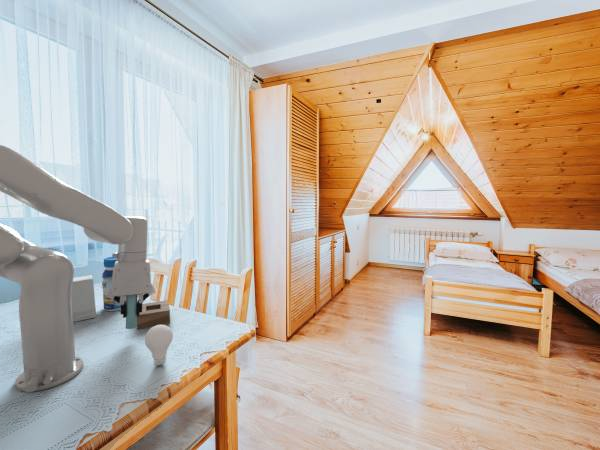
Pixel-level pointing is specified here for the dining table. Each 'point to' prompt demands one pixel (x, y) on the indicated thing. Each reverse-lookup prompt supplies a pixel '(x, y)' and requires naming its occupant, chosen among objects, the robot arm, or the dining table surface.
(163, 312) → the socket block
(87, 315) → the skincare box
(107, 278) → the beverage bottle
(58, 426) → the dining table surface
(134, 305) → the peg
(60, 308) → the robot arm
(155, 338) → the light bulb
